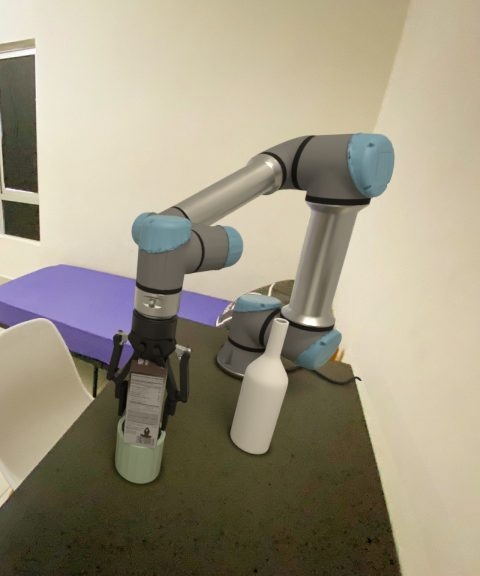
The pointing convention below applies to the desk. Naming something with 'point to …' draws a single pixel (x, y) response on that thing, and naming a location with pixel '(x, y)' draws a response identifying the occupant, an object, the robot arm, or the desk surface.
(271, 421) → the bottle
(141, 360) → the coffee box
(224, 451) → the desk surface
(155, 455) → the cup
